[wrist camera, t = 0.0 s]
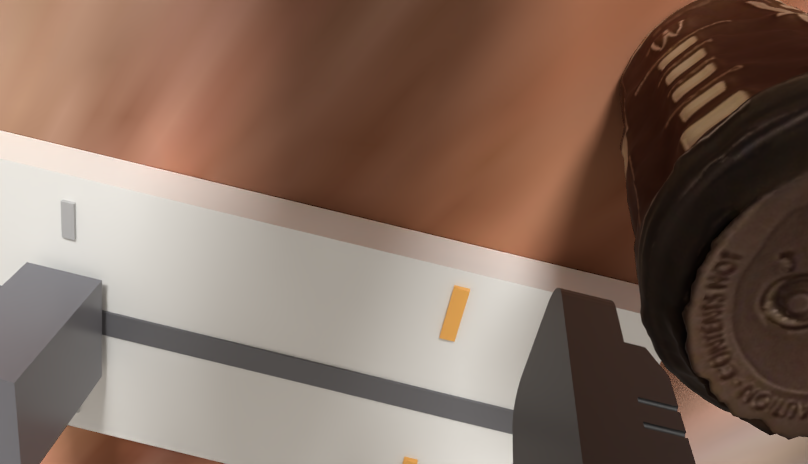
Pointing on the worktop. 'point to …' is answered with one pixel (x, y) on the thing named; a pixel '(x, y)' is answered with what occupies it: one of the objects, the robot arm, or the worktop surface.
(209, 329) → the console board
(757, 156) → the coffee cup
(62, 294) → the fader cap
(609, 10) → the worktop surface
